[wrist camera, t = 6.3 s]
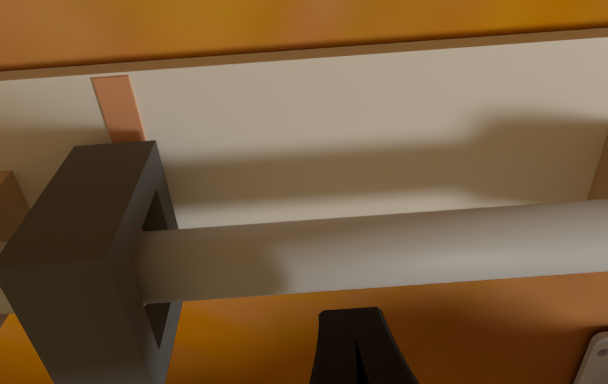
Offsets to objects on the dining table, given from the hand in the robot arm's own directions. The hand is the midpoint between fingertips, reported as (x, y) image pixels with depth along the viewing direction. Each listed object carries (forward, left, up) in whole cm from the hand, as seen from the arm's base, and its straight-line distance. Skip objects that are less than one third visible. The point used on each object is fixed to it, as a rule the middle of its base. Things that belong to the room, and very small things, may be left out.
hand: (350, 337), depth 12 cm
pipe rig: (0, +1, -7) cm, 7 cm away
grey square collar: (0, +6, -6) cm, 8 cm away
